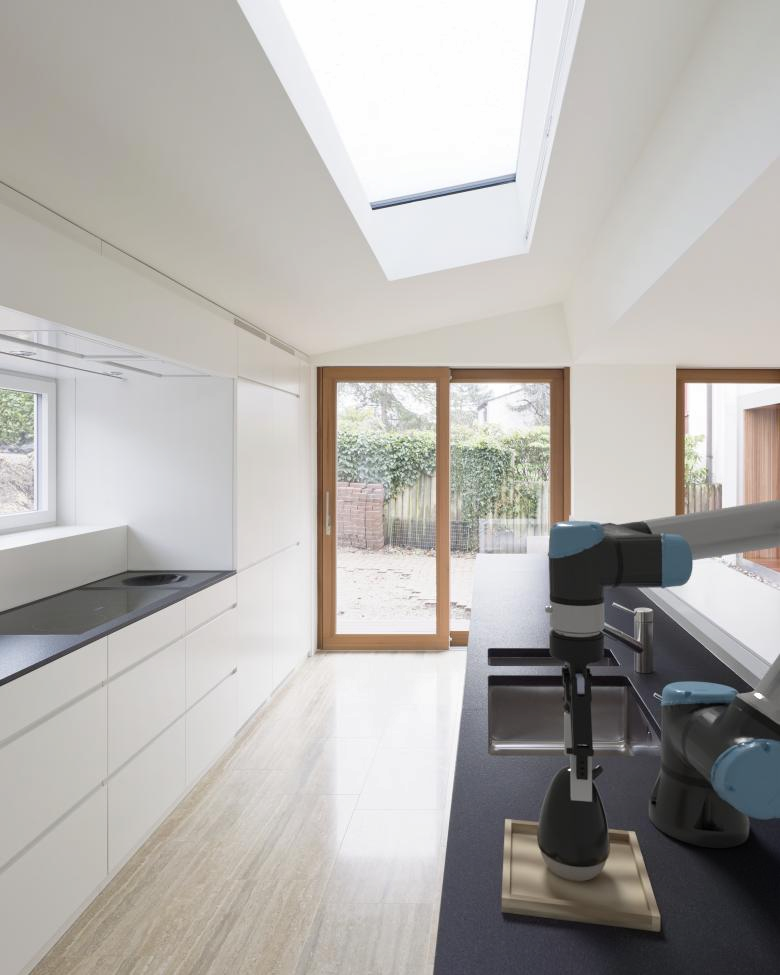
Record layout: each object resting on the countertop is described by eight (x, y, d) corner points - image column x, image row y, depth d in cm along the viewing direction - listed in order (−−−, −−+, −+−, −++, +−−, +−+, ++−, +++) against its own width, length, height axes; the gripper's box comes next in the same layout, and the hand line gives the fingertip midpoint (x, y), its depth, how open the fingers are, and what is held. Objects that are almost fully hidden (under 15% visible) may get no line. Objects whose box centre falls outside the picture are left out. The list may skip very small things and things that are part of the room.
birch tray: (505, 830, 110) (505, 818, 110) (634, 844, 106) (634, 831, 106) (501, 912, 90) (501, 897, 90) (660, 931, 87) (660, 916, 87)
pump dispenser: (626, 879, 96) (628, 774, 95) (569, 900, 92) (571, 790, 91) (576, 842, 105) (577, 746, 105) (522, 860, 101) (523, 760, 100)
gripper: (546, 609, 110) (547, 738, 111) (553, 654, 85) (554, 819, 86) (594, 610, 108) (595, 741, 109) (615, 656, 84) (616, 824, 85)
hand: (577, 776), depth 98 cm, fingers open, 13 cm apart
